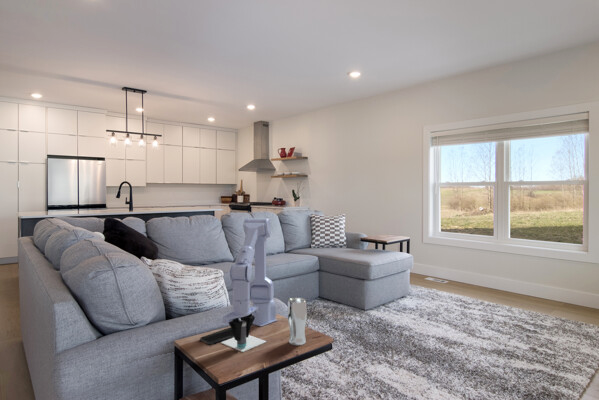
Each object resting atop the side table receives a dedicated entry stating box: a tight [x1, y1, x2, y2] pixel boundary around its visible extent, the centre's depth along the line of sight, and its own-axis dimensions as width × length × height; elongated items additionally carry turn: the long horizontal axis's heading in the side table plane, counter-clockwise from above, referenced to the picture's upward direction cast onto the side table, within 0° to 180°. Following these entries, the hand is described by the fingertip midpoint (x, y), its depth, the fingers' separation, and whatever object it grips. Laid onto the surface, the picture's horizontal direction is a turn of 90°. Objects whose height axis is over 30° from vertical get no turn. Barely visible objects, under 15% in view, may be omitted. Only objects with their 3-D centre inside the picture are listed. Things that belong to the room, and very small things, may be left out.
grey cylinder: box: [237, 320, 246, 347], centre depth 123 cm, size 3×3×8 cm
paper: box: [220, 334, 267, 353], centre depth 128 cm, size 11×12×1 cm
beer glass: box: [286, 297, 308, 346], centre depth 128 cm, size 7×7×15 cm
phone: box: [199, 327, 234, 346], centre depth 134 cm, size 8×1×15 cm
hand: (241, 338), depth 123 cm, fingers closed on grey cylinder, 3 cm apart
